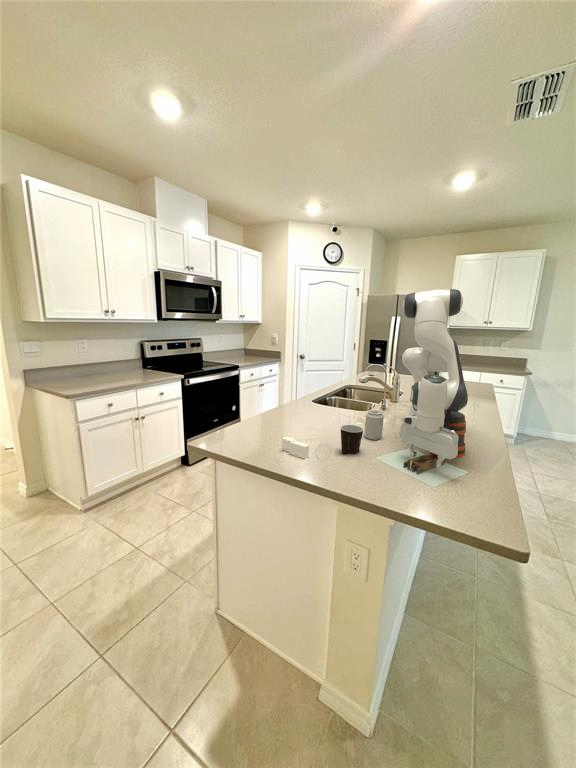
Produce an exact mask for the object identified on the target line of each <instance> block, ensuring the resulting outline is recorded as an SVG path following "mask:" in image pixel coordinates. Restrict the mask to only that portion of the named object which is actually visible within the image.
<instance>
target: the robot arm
mask: <svg viewBox="0 0 576 768" xmlns="http://www.w3.org/2000/svg"><path fill="white" fill-rule="evenodd" d="M463 305H464V297H463V294H462V291H460V290H459V289H456V288H450V289H432V290H425V291H420V292H419V291H418V292H415V291H414V292H411V293H407V295H405V297H404V300H403V303H402V310H403V314H404V316H405V317H406V318H408V319H413V320H414V319H415V320H414V331H413V332H414V333H413V334H414V340H415V342H416V344H417V345H418V346H419V347H418V346H416V347H409V348H407V349H405V350H404V352H403V353H402V355H401V361H402V364H403V366H404V367H405V368H406V369H408V371H409V373H411V375H412V378H413V383H414V384H413V385H411V390H410V391H411V392H410V398H409V401H410V402H411V404H412V405H411V406H410V407H409V411H408V415H406V416H402V421H401V422H402V424H401V425H400V427H399V428H400V429H399V436H398V437H399V439H400V441H401V442H404V443H407V449H408V448H409V450H410V456H413V457H415V456H416V453H417V452H416V451H415V450H416V449H415V447H417V448H420V449H421V450H424V451H426V452H428V453H429V452H430V453H431V452H432V453H434V454H437V455H438V458H439V459H438V460H436V461H434V466H435V467H440V466H441V462H442V461H443V460H444V459H445V458H446V460H453V459H455V457H456V456H457V454H458V439H459V436H458V435H457V433H455V431H453V430H449V429H447V428H444V427H443V426H444V418H445V414H444V410H448V411H454V412H457V411H458V412H460V411H461V410H463V409H464V408H465V407H467V404H468V400H469V395H468V390H467V386H466V384H465V380H464V374H463V368H462V367H463V365H462V358H461V356H460V352H459V347H458V343H457V342H456V340H455V339H452V337H451V335H449V332H448V327H447V326H448V324H447V322H448V320H447V319H448V318H447V317H453V316H456V315H458V314H460V312H461V310H462V308H463ZM428 372H437V373H447V375H448V381H449V382H448V381H447V379H446V377H443V376H442V375H438V374H429V373H428ZM455 434H456V435H455Z"/></svg>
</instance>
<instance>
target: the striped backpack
mask: <svg viewBox="0 0 576 768" xmlns="http://www.w3.org/2000/svg"><path fill="white" fill-rule="evenodd" d="M444 414H445V418H444V426H443V427H444V428H447V429H449V430H453V431H455V433H457V435H458V436H459V439H458V454H457V456H456V457H455V458H458V459H459V458H463V457H464V456H466V443H465V437H466V436H465V435H466V433H467V432H466V431H467V429H466V428H467V420H466V416H465V414H464V413H462V412H460V411H457V412H454V411H448V410H444ZM455 435H456V434H455ZM430 453H432V452H430ZM455 458H454V459H455Z"/></svg>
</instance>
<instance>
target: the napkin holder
mask: <svg viewBox="0 0 576 768" xmlns="http://www.w3.org/2000/svg"><path fill="white" fill-rule="evenodd" d="M283 450H285V451H284V452H286V451H287V452H286V453H289V452H290V453H289V455H290V454H292V455H291V456H294V455H295V456H294V457H297V458H300V457H301V458H300V459H303V458H304V459H303V460H306V459H308V458H309V455H310V454H309V453H310V451H309V450H310V445H309V444H307V443H303V442H300V441H297V440H296V439H294V438H292V437H288V436H285V437H283V438H282V440H281V451H283Z"/></svg>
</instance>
